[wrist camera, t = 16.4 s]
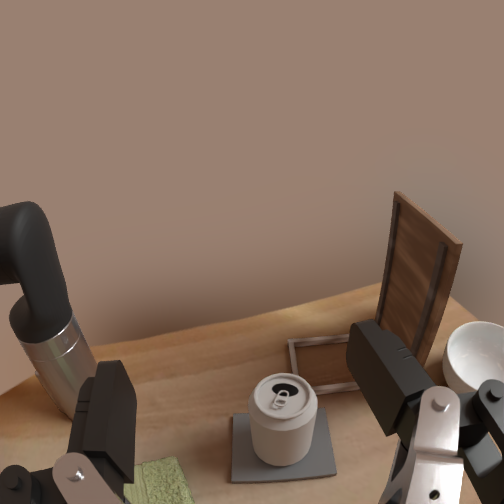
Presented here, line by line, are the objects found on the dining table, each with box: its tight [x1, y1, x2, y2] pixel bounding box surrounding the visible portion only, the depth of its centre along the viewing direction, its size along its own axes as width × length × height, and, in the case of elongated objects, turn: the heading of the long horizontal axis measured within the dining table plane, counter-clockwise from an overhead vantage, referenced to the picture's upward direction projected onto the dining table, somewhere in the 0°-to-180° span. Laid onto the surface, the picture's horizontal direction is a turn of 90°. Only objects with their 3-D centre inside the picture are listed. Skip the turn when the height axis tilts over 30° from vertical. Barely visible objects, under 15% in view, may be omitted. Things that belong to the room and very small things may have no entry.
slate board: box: [231, 407, 337, 483], centre depth 37 cm, size 13×11×1 cm
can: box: [248, 373, 317, 466], centre depth 34 cm, size 8×8×12 cm
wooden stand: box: [288, 191, 463, 395], centre depth 44 cm, size 18×18×26 cm
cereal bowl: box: [442, 322, 504, 394], centre depth 39 cm, size 17×17×7 cm
